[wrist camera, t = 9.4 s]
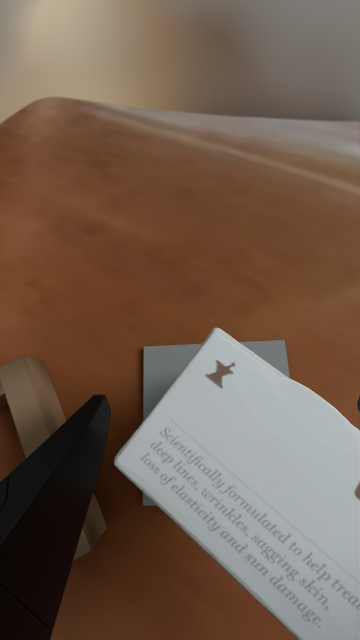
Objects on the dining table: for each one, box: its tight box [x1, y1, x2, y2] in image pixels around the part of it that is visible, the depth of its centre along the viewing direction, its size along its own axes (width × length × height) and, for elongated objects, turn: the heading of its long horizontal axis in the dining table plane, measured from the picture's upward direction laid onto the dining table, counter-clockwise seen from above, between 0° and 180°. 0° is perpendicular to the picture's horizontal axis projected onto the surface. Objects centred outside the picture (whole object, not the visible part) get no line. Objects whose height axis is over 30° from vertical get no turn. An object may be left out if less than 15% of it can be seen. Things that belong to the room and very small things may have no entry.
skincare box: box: [114, 328, 360, 640], centre depth 11 cm, size 6×4×12 cm
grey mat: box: [143, 340, 290, 506], centre depth 17 cm, size 10×10×1 cm
